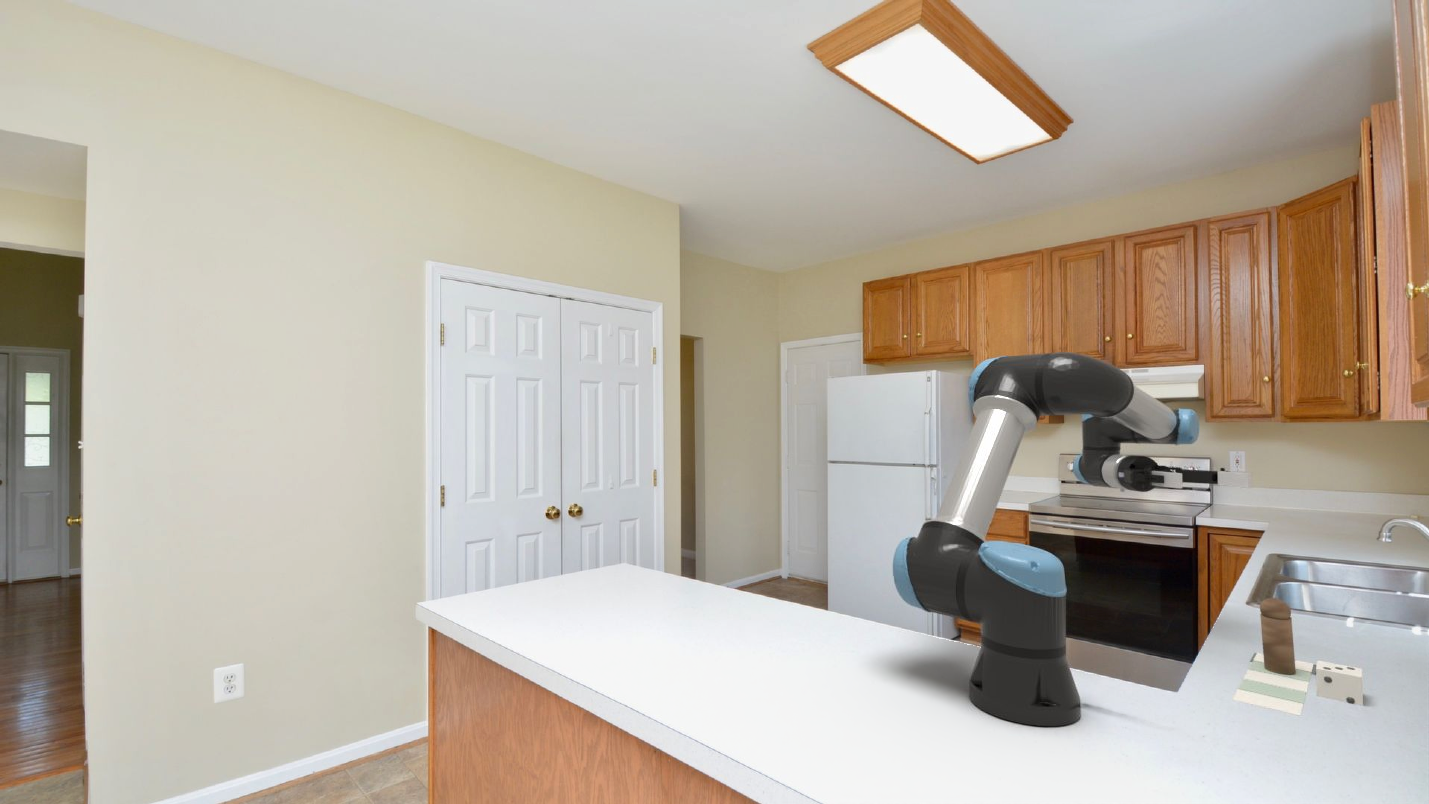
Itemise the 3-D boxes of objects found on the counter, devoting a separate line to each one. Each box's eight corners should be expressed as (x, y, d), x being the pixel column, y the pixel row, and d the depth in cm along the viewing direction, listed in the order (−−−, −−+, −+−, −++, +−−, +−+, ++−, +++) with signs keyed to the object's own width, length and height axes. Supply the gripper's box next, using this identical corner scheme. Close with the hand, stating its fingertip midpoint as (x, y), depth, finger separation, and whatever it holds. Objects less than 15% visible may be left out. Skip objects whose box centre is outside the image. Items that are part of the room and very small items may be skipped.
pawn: (1262, 670, 110) (1256, 598, 110) (1266, 663, 113) (1261, 593, 113) (1293, 676, 107) (1287, 603, 107) (1297, 669, 110) (1292, 597, 110)
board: (1228, 704, 98) (1228, 699, 98) (1254, 656, 119) (1254, 651, 119) (1304, 722, 92) (1303, 717, 92) (1317, 668, 113) (1316, 663, 113)
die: (1317, 701, 100) (1316, 668, 100) (1318, 692, 103) (1317, 659, 103) (1363, 712, 96) (1362, 676, 96) (1363, 701, 100) (1361, 668, 100)
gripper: (1186, 490, 141) (1278, 501, 120) (1076, 490, 139) (1151, 501, 118) (1185, 455, 142) (1277, 460, 121) (1076, 455, 140) (1150, 460, 118)
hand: (1215, 480), depth 119 cm, fingers open, 13 cm apart
